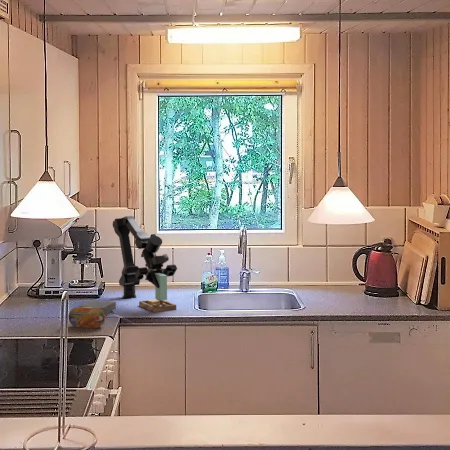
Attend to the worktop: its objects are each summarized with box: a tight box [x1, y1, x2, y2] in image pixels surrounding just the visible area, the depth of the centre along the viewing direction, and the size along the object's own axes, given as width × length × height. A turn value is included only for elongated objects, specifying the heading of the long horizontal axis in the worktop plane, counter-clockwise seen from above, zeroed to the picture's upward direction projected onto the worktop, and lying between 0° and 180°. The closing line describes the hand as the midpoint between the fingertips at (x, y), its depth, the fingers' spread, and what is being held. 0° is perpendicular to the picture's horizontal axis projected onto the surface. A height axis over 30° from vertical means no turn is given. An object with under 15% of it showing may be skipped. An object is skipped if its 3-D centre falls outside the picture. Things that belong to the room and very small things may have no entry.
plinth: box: [78, 299, 117, 317], centre depth 323 cm, size 12×12×4 cm
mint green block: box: [154, 274, 168, 301], centre depth 326 cm, size 5×3×11 cm, turn 33°
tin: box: [68, 306, 106, 329], centre depth 299 cm, size 15×3×8 cm, turn 80°
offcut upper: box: [148, 299, 160, 305], centre depth 333 cm, size 4×4×1 cm
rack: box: [138, 299, 177, 313], centre depth 330 cm, size 15×11×3 cm
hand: (162, 287), depth 324 cm, fingers closed on mint green block, 3 cm apart
